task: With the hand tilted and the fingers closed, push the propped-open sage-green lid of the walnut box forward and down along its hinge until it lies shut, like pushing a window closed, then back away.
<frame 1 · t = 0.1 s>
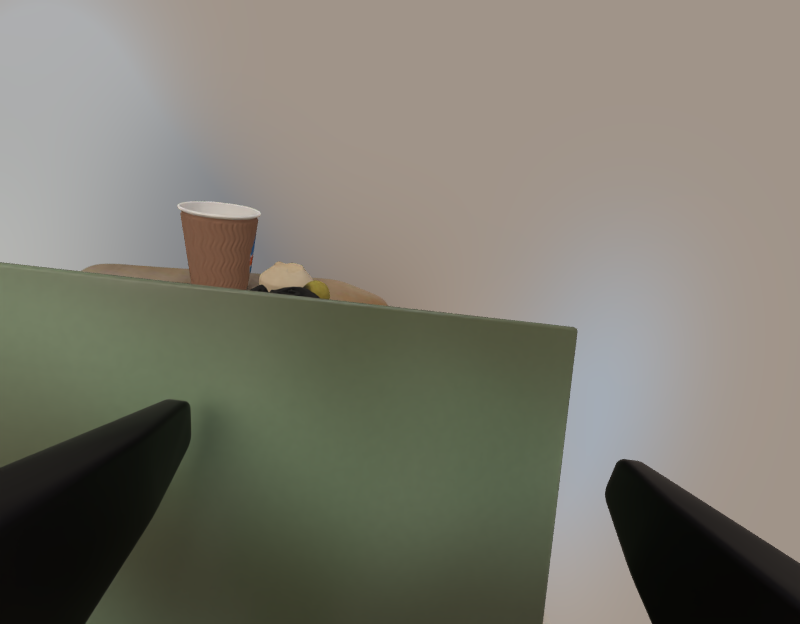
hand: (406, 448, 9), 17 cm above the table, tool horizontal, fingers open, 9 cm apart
candle: (282, 352, 46), on the table
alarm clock: (248, 408, 36), on the table
coffee cup: (220, 293, 60), on the table
lid: (273, 558, 10), point 13 cm above the table, hinge at 70.0°
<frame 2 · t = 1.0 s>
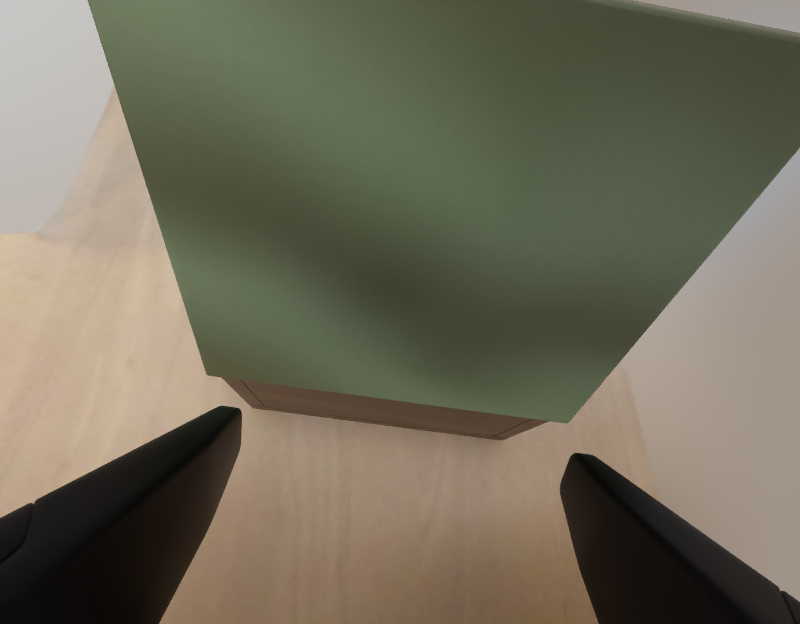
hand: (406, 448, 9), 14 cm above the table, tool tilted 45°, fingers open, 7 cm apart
chest: (391, 326, 25), on the table
lid: (421, 264, 11), point 13 cm above the table, hinge at 70.0°
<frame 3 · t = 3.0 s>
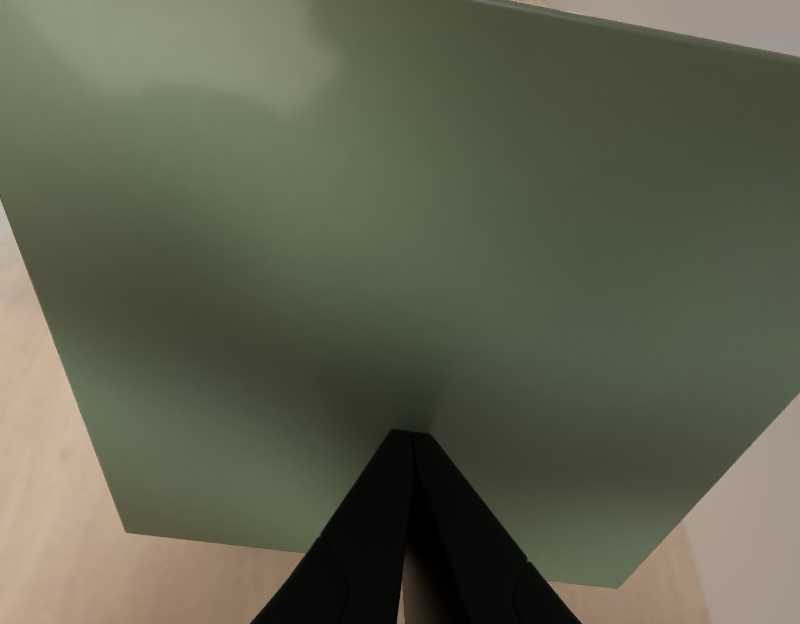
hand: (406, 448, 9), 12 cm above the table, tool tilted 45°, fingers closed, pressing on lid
lid: (420, 386, 8), point 12 cm above the table, hinge at 57.8°, touching gripper
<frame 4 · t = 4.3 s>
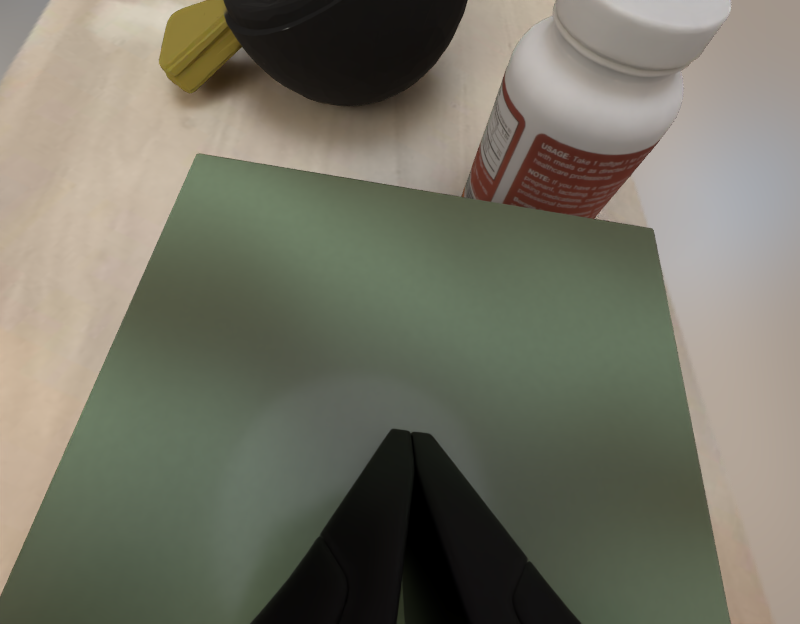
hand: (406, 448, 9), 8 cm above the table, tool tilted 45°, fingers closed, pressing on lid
pill bottle: (512, 221, 22), on the table
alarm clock: (330, 82, 25), on the table
lid: (409, 404, 10), point 7 cm above the table, hinge at -0.3°, touching chest, gripper
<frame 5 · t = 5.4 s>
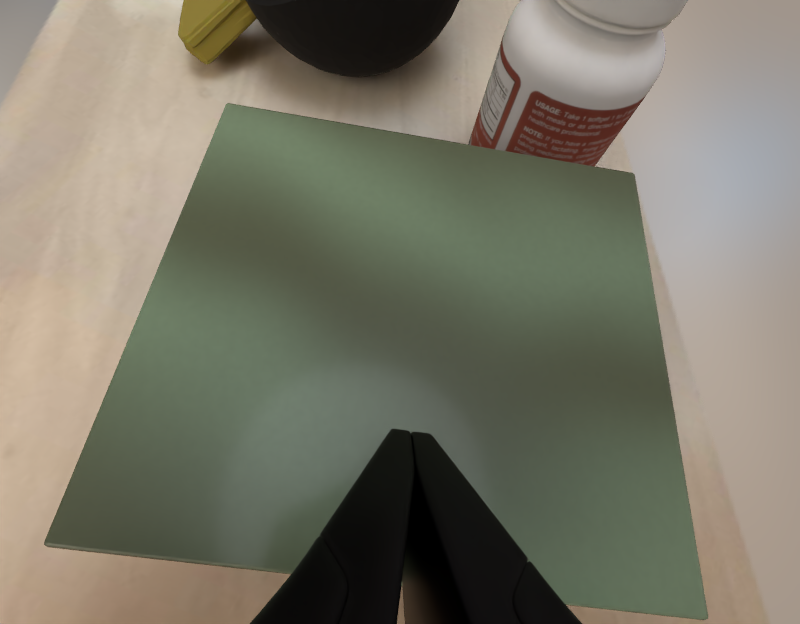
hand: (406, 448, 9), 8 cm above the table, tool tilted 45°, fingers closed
pill bottle: (510, 186, 23), on the table
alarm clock: (338, 56, 26), on the table
lid: (416, 314, 11), point 7 cm above the table, hinge at -0.3°, touching chest
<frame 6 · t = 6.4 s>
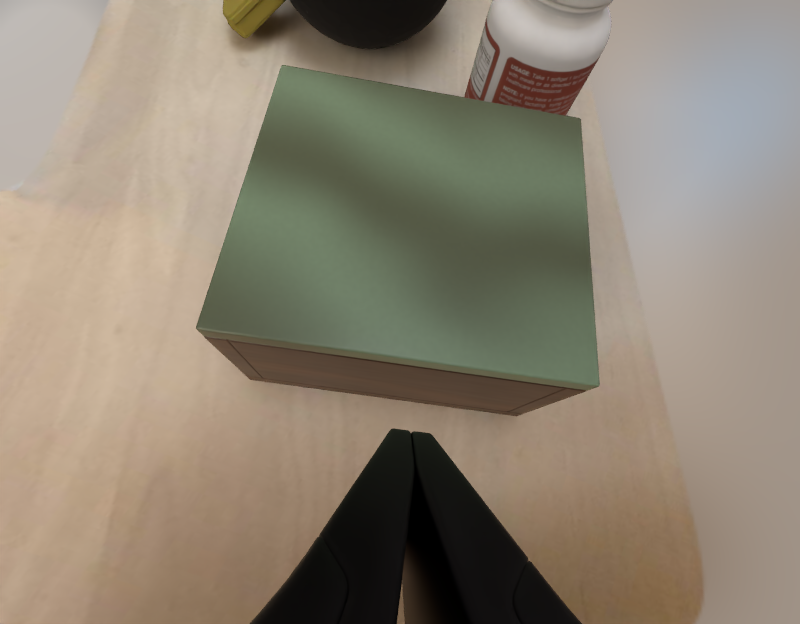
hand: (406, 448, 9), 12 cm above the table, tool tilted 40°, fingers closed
pill bottle: (497, 141, 28), on the table
chest: (399, 294, 23), on the table
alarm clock: (353, 31, 30), on the table
lid: (419, 211, 16), point 7 cm above the table, hinge at -0.3°, touching chest
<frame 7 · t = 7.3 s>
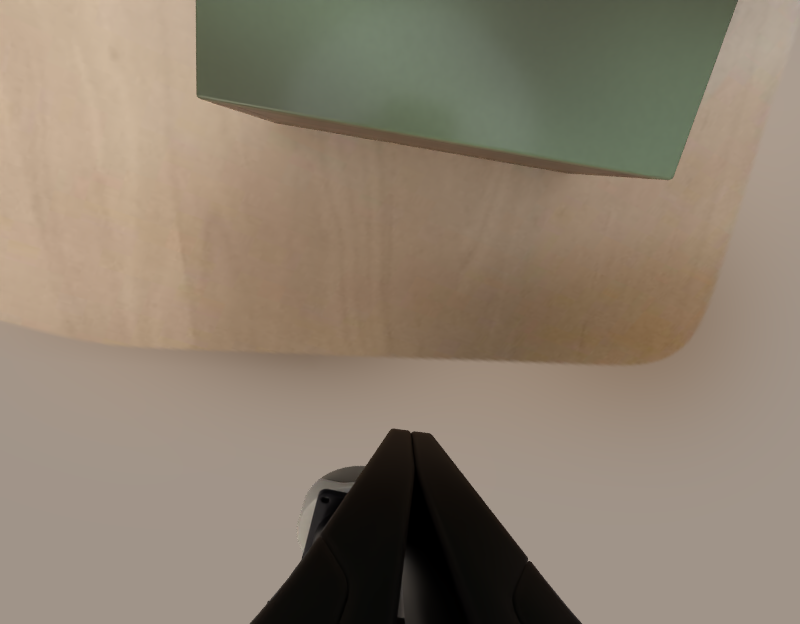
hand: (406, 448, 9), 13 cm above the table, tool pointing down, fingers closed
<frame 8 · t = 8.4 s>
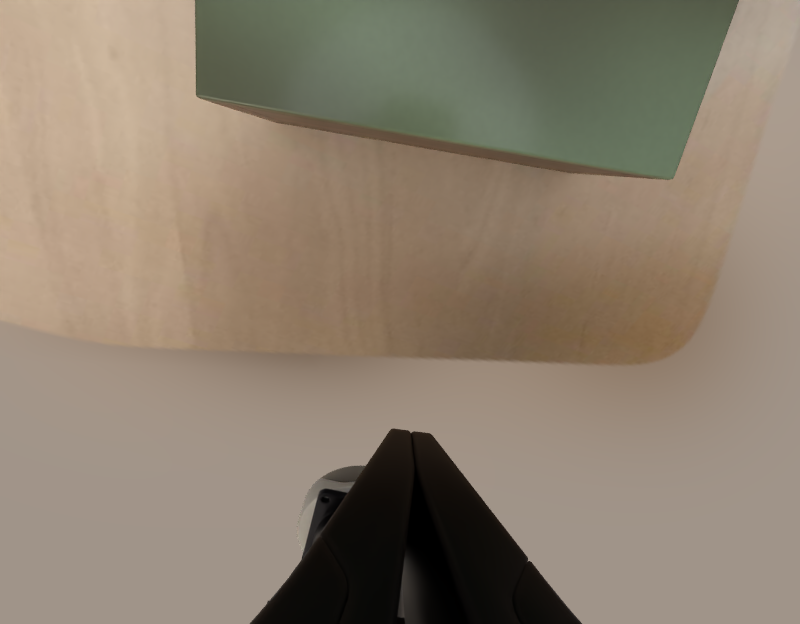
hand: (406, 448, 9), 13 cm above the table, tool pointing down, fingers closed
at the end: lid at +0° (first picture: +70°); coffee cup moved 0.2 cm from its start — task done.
